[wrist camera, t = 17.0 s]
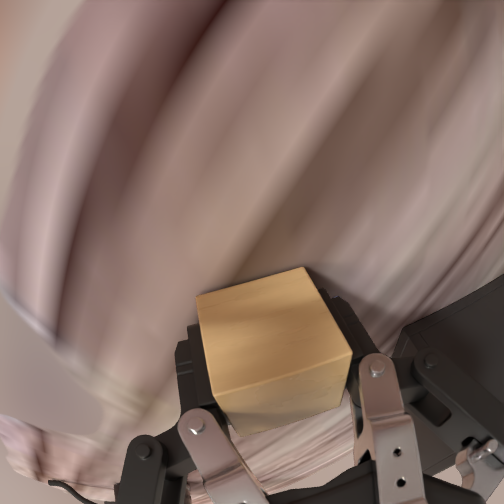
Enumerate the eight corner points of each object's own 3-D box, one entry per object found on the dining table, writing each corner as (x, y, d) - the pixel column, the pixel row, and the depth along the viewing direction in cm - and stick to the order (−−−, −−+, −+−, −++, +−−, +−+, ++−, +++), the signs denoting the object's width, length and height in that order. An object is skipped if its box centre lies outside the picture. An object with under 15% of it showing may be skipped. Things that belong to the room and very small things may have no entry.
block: (220, 356, 14) (239, 438, 10) (194, 295, 11) (212, 396, 8) (306, 331, 14) (340, 406, 11) (303, 265, 11) (354, 352, 8)
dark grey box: (457, 363, 27) (495, 425, 20) (366, 412, 26) (403, 489, 18) (509, 269, 18) (575, 347, 11) (402, 327, 17) (478, 450, 9)
